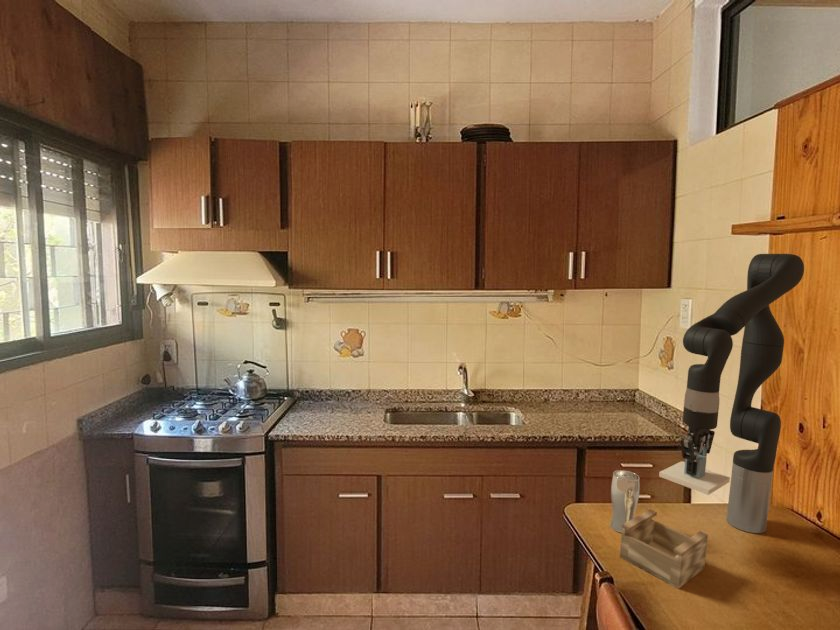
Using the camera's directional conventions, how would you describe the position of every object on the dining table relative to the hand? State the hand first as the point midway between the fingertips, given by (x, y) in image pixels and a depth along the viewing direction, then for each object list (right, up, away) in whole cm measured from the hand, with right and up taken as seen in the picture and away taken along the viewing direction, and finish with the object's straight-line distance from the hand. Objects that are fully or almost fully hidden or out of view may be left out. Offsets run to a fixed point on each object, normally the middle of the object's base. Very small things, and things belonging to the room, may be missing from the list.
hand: (694, 472), depth 123 cm
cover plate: (0, -2, 0) cm, 2 cm away
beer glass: (-15, -18, +9) cm, 25 cm away
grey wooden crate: (-11, -20, -6) cm, 24 cm away
